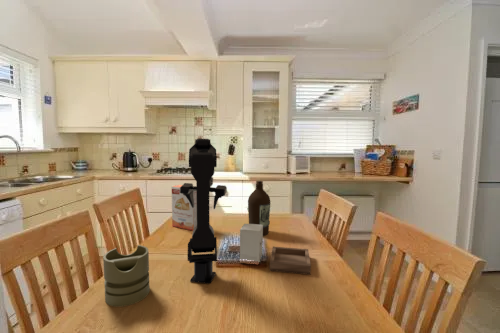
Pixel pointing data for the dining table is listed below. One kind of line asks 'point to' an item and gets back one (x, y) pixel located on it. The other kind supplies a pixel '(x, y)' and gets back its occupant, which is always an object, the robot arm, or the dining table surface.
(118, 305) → the green divided utensil holder
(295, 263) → the holder tray
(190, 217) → the cracker box
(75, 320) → the dining table surface
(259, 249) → the supplement box
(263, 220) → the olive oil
